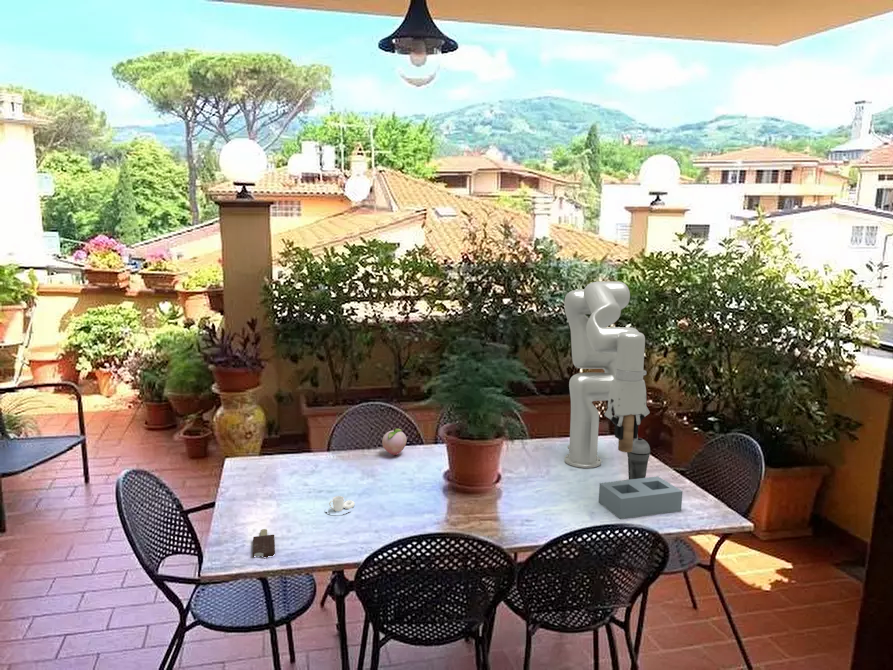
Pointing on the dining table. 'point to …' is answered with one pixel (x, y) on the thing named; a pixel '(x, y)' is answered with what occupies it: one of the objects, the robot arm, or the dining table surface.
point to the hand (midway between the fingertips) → (625, 437)
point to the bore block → (640, 497)
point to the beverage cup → (638, 459)
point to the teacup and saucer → (341, 503)
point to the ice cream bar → (264, 544)
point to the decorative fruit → (394, 441)
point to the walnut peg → (627, 434)
